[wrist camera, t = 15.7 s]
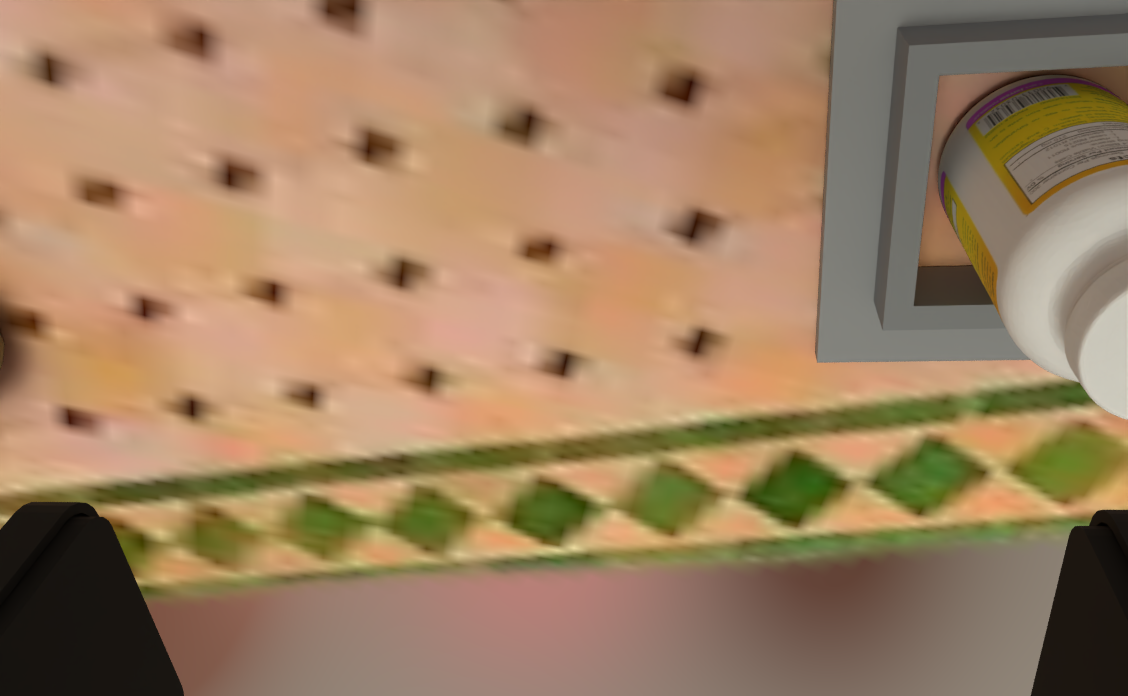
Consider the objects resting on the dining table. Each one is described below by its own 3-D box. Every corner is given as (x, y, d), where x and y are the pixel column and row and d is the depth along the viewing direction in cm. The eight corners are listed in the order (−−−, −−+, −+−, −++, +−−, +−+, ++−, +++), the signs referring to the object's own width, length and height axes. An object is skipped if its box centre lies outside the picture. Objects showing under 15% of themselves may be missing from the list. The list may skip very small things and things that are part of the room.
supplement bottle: (1060, 267, 38) (1207, 488, 27) (900, 209, 37) (983, 410, 26) (1174, 106, 34) (1397, 286, 23) (998, 38, 33) (1143, 191, 23)
